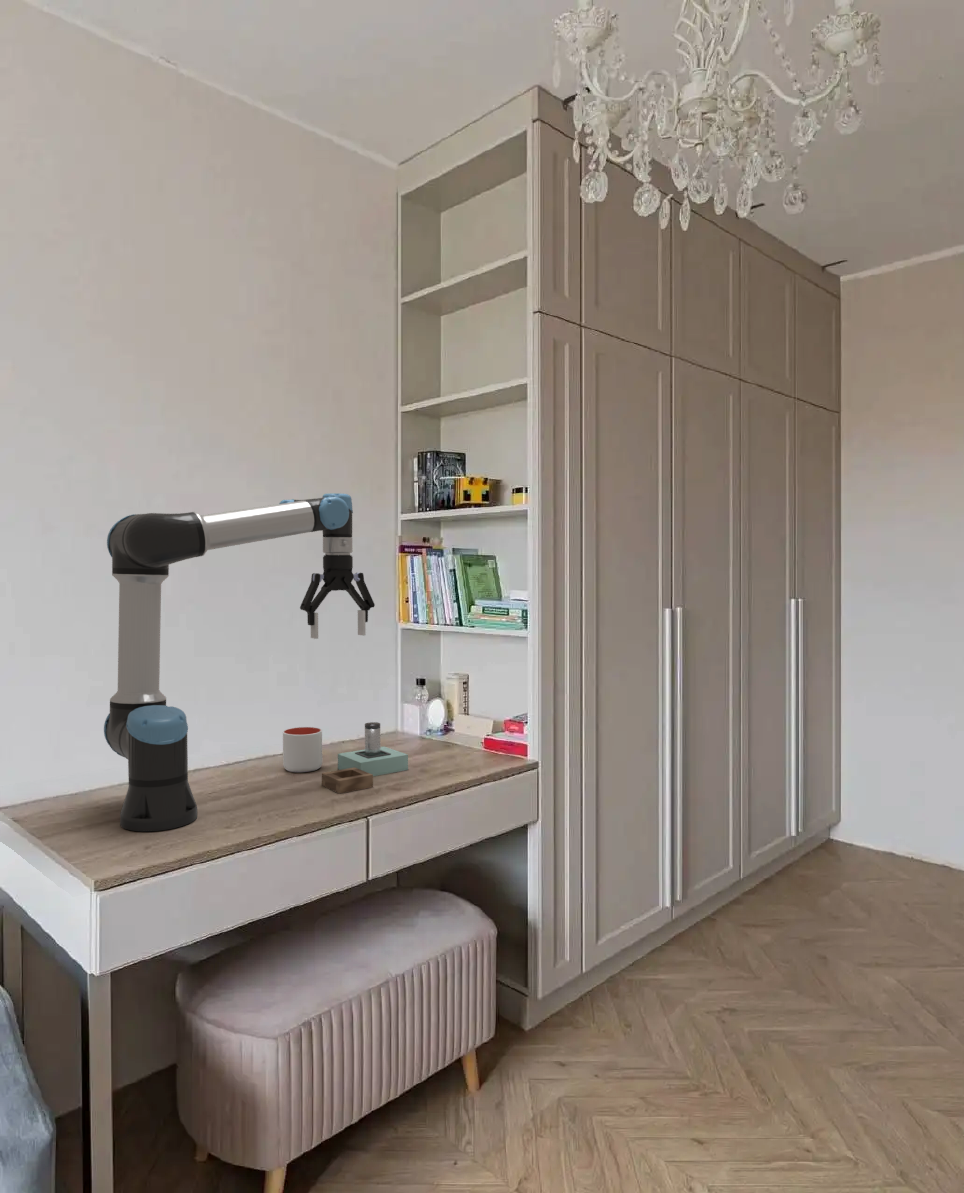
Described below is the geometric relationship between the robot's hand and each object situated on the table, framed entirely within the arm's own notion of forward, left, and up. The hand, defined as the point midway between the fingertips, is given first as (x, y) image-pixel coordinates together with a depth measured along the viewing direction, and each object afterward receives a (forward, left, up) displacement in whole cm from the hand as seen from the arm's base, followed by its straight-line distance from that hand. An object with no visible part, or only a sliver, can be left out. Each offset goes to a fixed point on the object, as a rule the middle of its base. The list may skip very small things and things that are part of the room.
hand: (338, 636), depth 217 cm
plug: (+7, -5, -35) cm, 36 cm away
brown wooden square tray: (-6, -15, -35) cm, 38 cm away
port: (+7, -5, -35) cm, 36 cm away
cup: (-7, +7, -35) cm, 36 cm away
